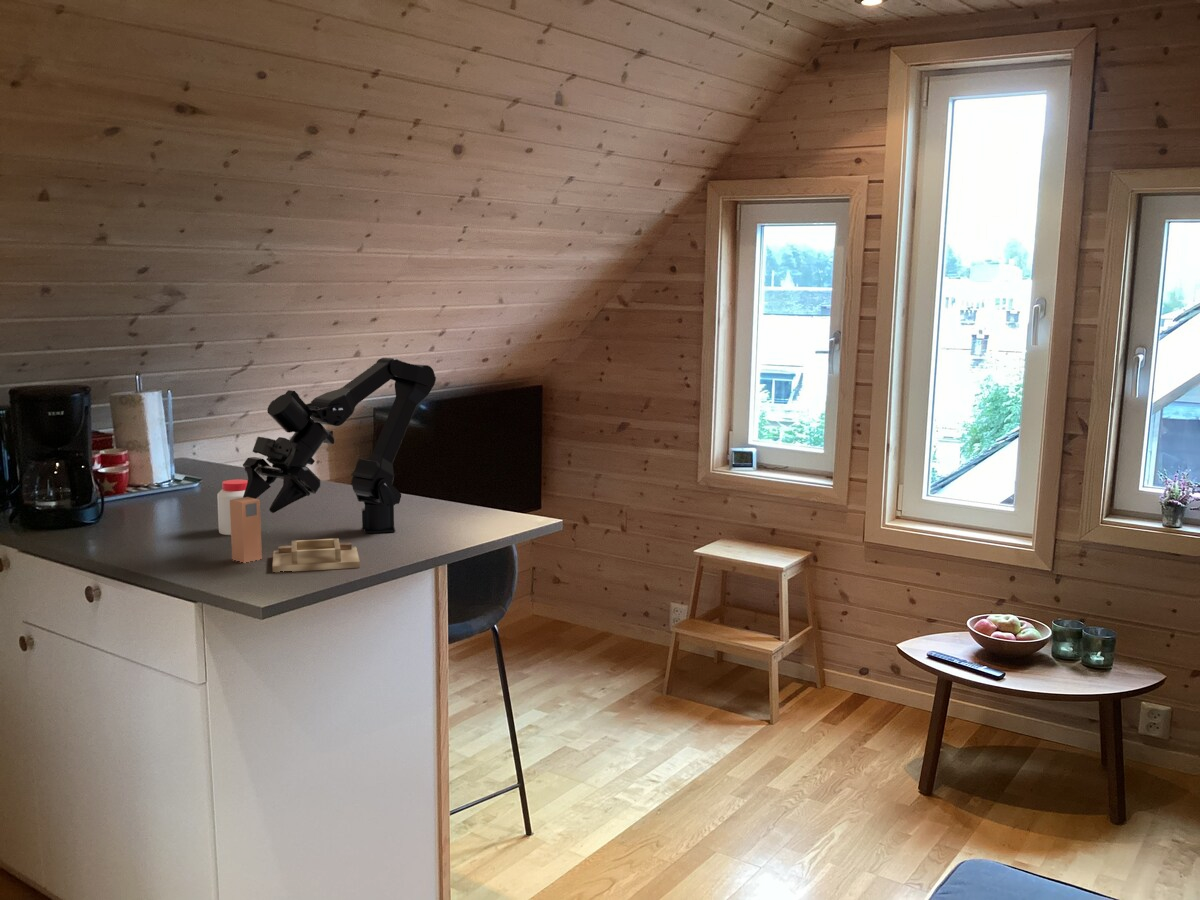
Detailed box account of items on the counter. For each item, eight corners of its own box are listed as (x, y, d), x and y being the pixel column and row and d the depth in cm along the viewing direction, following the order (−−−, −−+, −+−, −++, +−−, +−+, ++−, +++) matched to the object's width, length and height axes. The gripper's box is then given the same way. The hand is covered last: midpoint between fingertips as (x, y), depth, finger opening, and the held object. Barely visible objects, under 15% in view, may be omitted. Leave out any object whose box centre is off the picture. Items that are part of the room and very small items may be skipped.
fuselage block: (249, 556, 212) (247, 496, 211) (262, 559, 210) (259, 499, 208) (232, 559, 209) (229, 499, 207) (244, 563, 207) (242, 502, 205)
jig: (356, 552, 216) (355, 534, 216) (359, 567, 205) (359, 548, 204) (273, 556, 212) (273, 538, 211) (272, 572, 201) (272, 553, 200)
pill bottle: (243, 525, 239) (241, 477, 237) (263, 530, 234) (261, 481, 232) (211, 531, 233) (209, 481, 231) (231, 536, 228) (229, 486, 226)
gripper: (249, 417, 218) (202, 477, 211) (307, 425, 206) (259, 489, 199) (283, 451, 225) (238, 511, 218) (340, 461, 214) (295, 524, 207)
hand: (256, 508), depth 210 cm, fingers open, 9 cm apart
